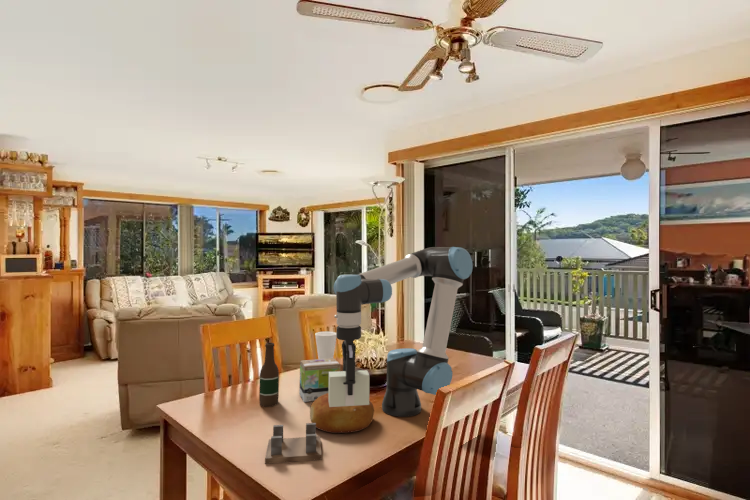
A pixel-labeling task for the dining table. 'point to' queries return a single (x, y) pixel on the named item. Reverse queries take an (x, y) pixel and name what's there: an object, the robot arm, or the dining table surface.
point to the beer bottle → (269, 379)
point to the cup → (325, 344)
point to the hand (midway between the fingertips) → (348, 401)
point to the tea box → (316, 377)
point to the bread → (340, 416)
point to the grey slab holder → (293, 446)
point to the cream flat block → (339, 388)
